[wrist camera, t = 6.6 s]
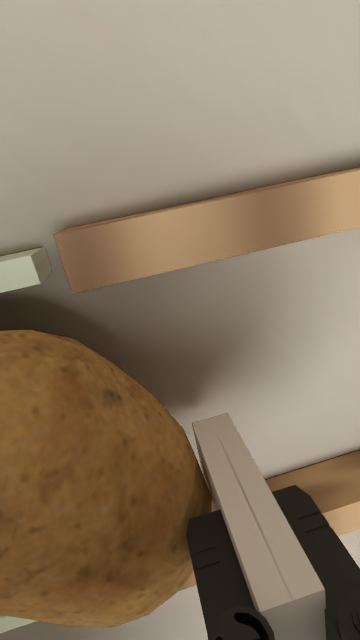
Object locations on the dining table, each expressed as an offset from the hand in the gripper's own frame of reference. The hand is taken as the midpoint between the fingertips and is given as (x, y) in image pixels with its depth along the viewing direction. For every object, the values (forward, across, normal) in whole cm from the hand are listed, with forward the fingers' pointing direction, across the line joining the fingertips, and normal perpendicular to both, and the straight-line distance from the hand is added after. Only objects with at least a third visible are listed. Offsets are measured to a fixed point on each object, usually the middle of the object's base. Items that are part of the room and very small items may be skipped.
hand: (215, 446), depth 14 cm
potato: (+4, -7, +2) cm, 8 cm away
